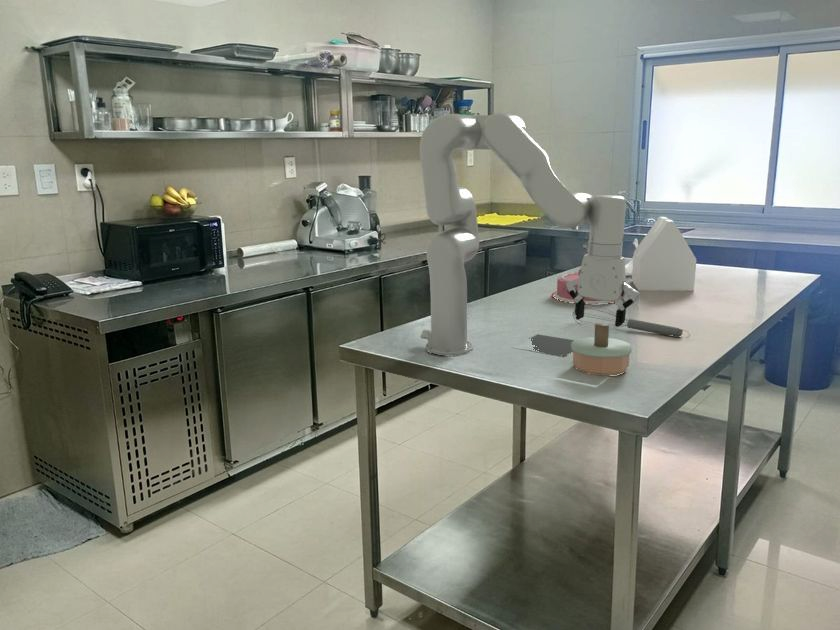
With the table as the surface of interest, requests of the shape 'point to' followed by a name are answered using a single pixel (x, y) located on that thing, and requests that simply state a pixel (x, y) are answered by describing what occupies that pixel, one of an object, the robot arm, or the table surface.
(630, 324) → the kitchen whisk
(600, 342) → the lid
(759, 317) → the table surface
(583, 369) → the bowl
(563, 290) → the cake
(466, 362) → the table surface
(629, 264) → the white curved piece
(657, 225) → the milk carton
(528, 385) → the table surface
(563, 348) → the mat
